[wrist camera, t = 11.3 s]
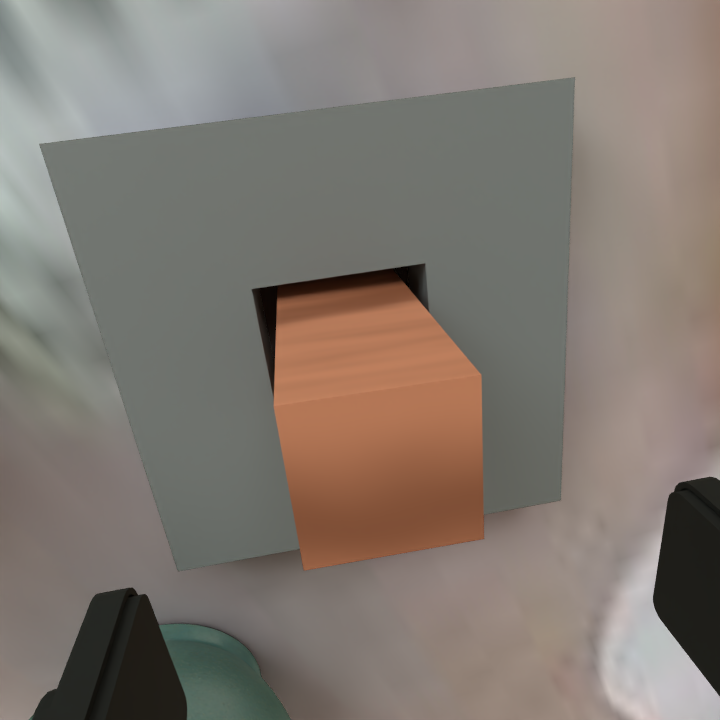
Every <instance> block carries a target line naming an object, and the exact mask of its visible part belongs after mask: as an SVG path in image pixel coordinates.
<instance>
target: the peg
mask: <svg viewBox="0 0 720 720" xmlns="http://www.w3.org/2000/svg"><path fill="white" fill-rule="evenodd" d="M274 411H275V417H276V422H277V427H278V433H279V438H280V444H281V449H282V455H283V460H284V465H285V471H286V476H287V482H288V487H289V493H290V498H291V503H292V509H293V514H294V520H295V525H296V531H297V536H298V541H299V547H300V552H301V558H302V563H303V569H304V570H310V569H316V568H321V567H327V566H333V565H338V564H344V563H350V562H355V561H361V560H367V559H373V558H378V557H384V556H390V555H395V554H401V553H407V552H412V551H418V550H424V549H429V548H435V547H441V546H446V545H452V544H458V543H463V542H469V541H475V540H480V539H484V506H483V442H482V377H481V374H480V373H479V371H478V370H477V369H476V368H475V367H474V365H473V364H472V363H471V362H470V361H469V359H468V358H467V357H466V356H465V355H464V354H463V352H462V351H461V350H460V349H459V348H458V346H457V345H456V344H455V343H454V342H453V340H452V339H451V338H450V337H449V336H448V335H447V333H446V332H445V331H444V330H443V329H442V327H441V326H440V325H439V324H438V323H437V321H436V320H435V319H434V318H433V317H432V316H431V314H430V313H429V312H428V311H427V310H426V308H425V307H424V306H423V305H422V304H421V302H420V301H419V300H418V299H417V298H416V296H415V295H414V294H413V293H412V292H411V291H410V289H409V288H408V287H407V286H406V285H405V283H404V282H403V281H402V280H401V279H400V277H399V276H398V275H397V274H396V273H395V272H394V270H393V269H392V268H390V269H383V270H377V271H370V272H363V273H356V274H350V275H343V276H336V277H329V278H323V279H316V280H309V281H302V282H296V283H289V284H282V285H278V289H277V319H276V349H275V379H274Z"/></svg>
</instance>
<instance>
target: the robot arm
mask: <svg viewBox="0 0 720 720" xmlns="http://www.w3.org/2000/svg"><path fill="white" fill-rule="evenodd" d="M653 603H654V607H655V610H656V612H657V614H658V616H659V618H660V619H661V621H662V622H663V623H664V625H665V626H666V627H667V629H668V630H669V631H670V632H671V634H672V635H673V636H674V638H675V639H676V640H677V641H678V643H679V644H680V645H681V647H682V648H683V649H684V651H685V652H686V653H687V654H688V656H689V657H690V658H691V660H692V661H693V662H694V664H695V665H696V666H697V667H698V669H699V670H700V671H701V673H702V674H703V675H704V676H705V678H706V679H707V680H708V682H709V683H710V684H711V686H712V687H713V688H714V689H715V691H716V692H717V693H718V695H719V696H720V480H718V479H717V478H714V477H707V478H701V479H696V480H691V481H686V482H681V483H679V484H678V485H677V486H676V488H675V491H674V492H673V493H671V494H670V495H669V498H668V503H667V509H666V516H665V522H664V529H663V536H662V542H661V549H660V555H659V562H658V568H657V575H656V582H655V588H654V595H653ZM32 720H187V701H186V696H185V693H184V690H183V688H182V685H181V682H180V680H179V677H178V675H177V672H176V669H175V667H174V664H173V661H172V659H171V656H170V654H169V651H168V648H167V646H166V643H165V640H164V638H163V635H162V632H161V630H160V627H159V625H158V622H157V619H156V617H155V614H154V611H153V609H152V606H151V604H150V601H149V599H148V597H147V595H145V594H142V595H138V594H137V592H136V591H135V589H133V588H126V589H120V590H115V591H110V592H105V593H99V594H96V595H95V596H94V597H93V599H92V601H91V603H90V605H89V608H88V610H87V613H86V615H85V618H84V621H83V623H82V626H81V628H80V631H79V634H78V636H77V639H76V641H75V644H74V646H73V649H72V652H71V654H70V657H69V659H68V662H67V665H66V667H65V670H64V672H63V675H62V678H61V680H60V683H59V685H58V688H57V689H54V690H52V691H49V692H47V694H46V695H45V696H44V697H43V698H42V699H41V701H40V703H39V705H38V707H37V709H36V710H35V713H34V715H33V718H32Z"/></svg>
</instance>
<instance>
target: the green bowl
mask: <svg viewBox="0 0 720 720" xmlns="http://www.w3.org/2000/svg"><path fill="white" fill-rule="evenodd" d="M159 627H160V630H161V632H162V635H163V638H164V640H165V643H166V646H167V648H168V651H169V654H170V656H171V659H172V661H173V664H174V667H175V669H176V672H177V675H178V677H179V680H180V682H181V685H182V688H183V690H184V693H185V696H186V701H187V720H291V719H290V717H289V715H288V714H287V712H286V710H285V708H284V707H283V705H282V704H281V702H280V701H279V699H278V698H277V696H276V695H275V693H274V692H273V690H272V689H271V688H270V687H269V686H268V684H267V683H266V682H265V681H264V680H263V679H262V678H261V673H260V669H259V666H258V664H257V662H256V660H255V658H254V657H253V655H252V654H251V652H250V651H249V650H248V649H247V648H246V647H245V646H244V645H243V644H241V643H240V642H239V641H238V640H236V639H234V638H233V637H231V636H229V635H227V634H225V633H223V632H221V631H218V630H215V629H212V628H208V627H204V626H200V625H191V624H165V625H159ZM32 718H33V716H32V717H31V718H30V719H29V720H32Z"/></svg>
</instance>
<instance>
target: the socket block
mask: <svg viewBox="0 0 720 720" xmlns="http://www.w3.org/2000/svg"><path fill="white" fill-rule="evenodd" d="M574 87H575V77H574V78H566V79H558V80H550V81H542V82H534V83H526V84H518V85H510V86H502V87H493V88H485V89H477V90H469V91H461V92H453V93H445V94H437V95H429V96H421V97H413V98H405V99H397V100H389V101H381V102H373V103H365V104H357V105H349V106H341V107H333V108H325V109H317V110H309V111H301V112H293V113H285V114H277V115H269V116H261V117H253V118H245V119H236V120H228V121H220V122H212V123H204V124H196V125H188V126H180V127H172V128H164V129H156V130H148V131H140V132H132V133H124V134H116V135H108V136H100V137H92V138H84V139H76V140H68V141H60V142H52V143H44V144H39V145H40V148H41V151H42V154H43V157H44V160H45V163H46V166H47V169H48V172H49V175H50V179H51V182H52V185H53V188H54V191H55V194H56V197H57V200H58V203H59V206H60V209H61V212H62V215H63V219H64V222H65V225H66V228H67V231H68V234H69V237H70V240H71V243H72V246H73V249H74V252H75V256H76V259H77V262H78V265H79V268H80V271H81V274H82V277H83V280H84V283H85V286H86V289H87V293H88V296H89V299H90V302H91V305H92V308H93V311H94V314H95V317H96V320H97V323H98V326H99V329H100V333H101V336H102V339H103V342H104V345H105V348H106V351H107V354H108V357H109V360H110V363H111V366H112V370H113V373H114V376H115V379H116V382H117V385H118V388H119V391H120V394H121V397H122V400H123V403H124V406H125V410H126V413H127V416H128V419H129V422H130V425H131V428H132V431H133V434H134V437H135V440H136V443H137V447H138V450H139V453H140V456H141V459H142V462H143V465H144V468H145V471H146V474H147V477H148V480H149V483H150V487H151V490H152V493H153V496H154V499H155V502H156V505H157V508H158V511H159V514H160V517H161V520H162V524H163V527H164V530H165V533H166V536H167V539H168V542H169V545H170V548H171V551H172V554H173V557H174V561H175V564H176V567H177V570H178V571H184V570H189V569H194V568H200V567H205V566H211V565H216V564H221V563H227V562H232V561H238V560H243V559H248V558H254V557H259V556H264V555H270V554H275V553H281V552H286V551H291V550H297V549H300V547H299V541H298V536H297V531H296V525H295V520H294V514H293V509H292V503H291V498H290V493H289V487H288V482H287V476H286V471H285V465H284V460H283V455H282V449H281V444H280V438H279V433H278V427H277V422H276V417H275V411H274V379H275V364H274V359H273V354H272V349H271V343H270V338H269V333H268V328H267V323H266V318H265V313H264V308H263V303H262V297H261V292H260V288H262V287H269V286H275V285H282V284H289V283H296V282H302V281H309V280H316V279H323V278H329V277H336V276H343V275H350V274H356V273H363V272H370V271H377V270H383V269H390V268H397V267H403V266H408V272H409V284H410V291H411V292H412V293H413V294H414V295H415V296H416V298H417V299H418V300H419V301H420V302H421V304H422V305H423V306H424V307H425V308H426V310H427V311H428V312H429V313H430V314H431V316H432V317H433V318H434V319H435V320H436V321H437V323H438V324H439V325H440V326H441V327H442V329H443V330H444V331H445V332H446V333H447V335H448V336H449V337H450V338H451V339H452V340H453V342H454V343H455V344H456V345H457V346H458V348H459V349H460V350H461V351H462V352H463V354H464V355H465V356H466V357H467V358H468V359H469V361H470V362H471V363H472V364H473V365H474V367H475V368H476V369H477V370H478V371H479V373H480V374H481V377H482V442H483V506H484V515H485V514H490V513H496V512H501V511H507V510H512V509H517V508H523V507H528V506H533V505H539V504H544V503H550V502H555V501H560V500H561V479H562V449H563V419H564V388H565V358H566V328H567V298H568V268H569V238H570V208H571V178H572V147H573V117H574Z"/></svg>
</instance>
